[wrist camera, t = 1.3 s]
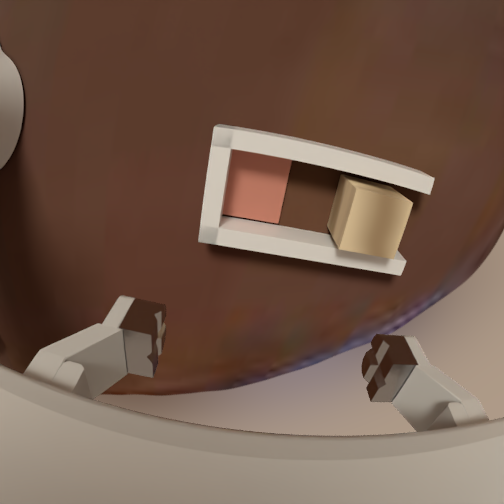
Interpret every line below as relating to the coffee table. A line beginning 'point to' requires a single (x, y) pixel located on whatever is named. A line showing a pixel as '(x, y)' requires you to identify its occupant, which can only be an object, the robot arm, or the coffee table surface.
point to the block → (368, 217)
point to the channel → (273, 190)
